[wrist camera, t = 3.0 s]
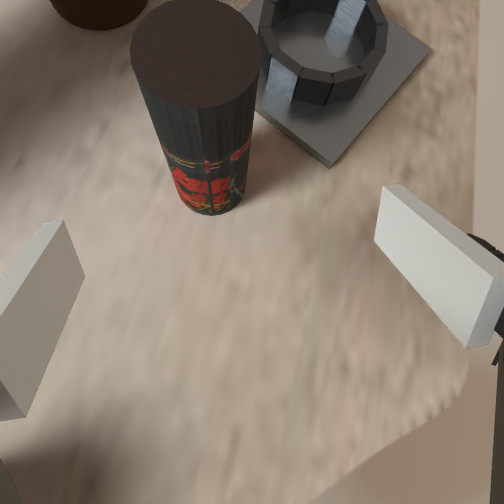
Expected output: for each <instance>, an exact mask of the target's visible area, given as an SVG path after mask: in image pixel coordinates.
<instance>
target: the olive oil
mask: <svg viewBox="0 0 504 504" xmlns="http://www.w3.org/2000/svg"><path fill="white" fill-rule="evenodd" d="M50 1H51V3H52V5H53V6H54V8H55V9H56V11H57V12H58V13H59V14H60V15H61V16H62V17H63V18H64V19H66V20H67V21H69V22H71V23H72V24H75V25H77V26H80V27H83V28H87V29H95V30H104V29H111V28H115V27H118V26H121V25H124V24H126V23H127V22H129V21H131V20H132V19H134V18H135V17H136V16H137V15H138V14H139V13H140V12H141V11H142V9H143V8H144V6H145V5H146V2H147V0H50Z"/></svg>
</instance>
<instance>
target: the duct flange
mask: <svg viewBox="0 0 504 504" xmlns="http://www.w3.org/2000/svg"><path fill="white" fill-rule="evenodd" d="M240 13H241V14H242V15H243V16H244V17H245V18H246V19H247V20H248V21H249V22H250V23H251V24H252V26H253V28H254V30H255V32H256V34H257V35H258V37H259V42H260V47H261V62H260V71H259V79H258V87H257V95H256V103H255V111H256V112H258V113H259V114H260V115H261V116H263V117H264V118H265V119H267V120H268V121H269V122H270V123H272V124H273V125H274V126H276V127H277V128H278V129H279V130H281V131H282V132H283V133H284V134H286V135H287V136H288V137H290V138H291V139H292V140H293V141H295V142H296V143H297V144H298V145H300V146H301V147H302V148H304V149H305V150H306V151H307V152H309V153H310V154H311V155H312V156H314V157H315V158H316V159H318V160H319V161H320V162H321V163H323V164H324V165H325V166H326V167H328V168H329V169H330V168H331V166H332V165H333V164H334V163H335V162H336V161H337V159H338V158H339V157H340V156H341V155H342V154H343V152H344V151H345V150H346V149H347V148H348V147H349V145H350V144H351V143H352V142H353V141H354V139H355V138H356V137H357V136H358V135H359V134H360V132H361V131H362V130H363V129H364V128H365V127H366V125H367V124H368V123H369V122H370V121H371V120H372V118H373V117H374V116H375V115H376V114H377V113H378V111H379V110H380V109H381V108H382V107H383V106H384V104H385V103H386V102H387V101H388V100H389V99H390V97H391V96H392V95H393V94H394V93H395V92H396V90H397V89H398V88H399V87H400V86H401V85H402V83H403V82H404V81H405V80H406V79H407V78H408V76H409V75H410V74H411V73H412V72H413V71H414V69H415V68H416V67H417V66H418V65H419V64H420V62H421V61H422V60H423V59H424V58H425V57H426V55H427V54H428V52H429V51H430V50H431V49H430V48H429V47H428V46H426V45H425V44H423V43H422V42H421V41H419V40H418V39H416V38H415V37H414V36H412V35H411V34H410V33H408V32H407V31H405V30H404V29H403V28H401V27H400V26H399V25H397V24H396V23H394V22H393V21H392V20H390V19H389V18H388V17H386V16H385V15H384V14H383V12H382V10H381V8H380V6H379V4H378V2H377V0H253V1H252V2H251V3H250V4H249V5H248V6H247V7H245V8H244V9H243V10H242V11H241V12H240Z"/></svg>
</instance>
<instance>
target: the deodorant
mask: <svg viewBox="0 0 504 504" xmlns="http://www.w3.org/2000/svg"><path fill="white" fill-rule="evenodd" d="M130 54H131V63H132V67H133V70H134V72H135V75H136V78H137V81H138V83H139V86H140V89H141V92H142V94H143V97H144V100H145V103H146V105H147V108H148V111H149V114H150V116H151V119H152V122H153V125H154V127H155V130H156V133H157V136H158V138H159V141H160V144H161V147H162V149H163V152H164V155H165V158H166V160H167V163H168V166H169V169H170V171H171V174H172V177H173V180H174V183H175V185H176V188H177V191H178V193H179V195H180V198H181V200H182V201H183V202H184V203H185V205H186V206H187V207H189V208H190V209H191V210H193V211H194V212H197V213H200V214H202V215H210V216H213V215H220V214H223V213H226V212H228V211H230V210H231V209H232V208H234V207H235V206H236V205H237V204H238V203H239V201H240V200H241V199H242V196H243V194H244V191H245V184H246V176H247V168H248V160H249V152H250V143H251V135H252V127H253V119H254V111H255V103H256V95H257V87H258V79H259V71H260V62H261V47H260V42H259V37H258V35H257V34H256V32H255V30H254V28H253V26H252V24H251V23H250V22H249V21H248V20H247V19H246V18H245V17H244V16H243V15H242V14H241V13H240V12H238V11H237V10H235V9H234V8H232V7H231V6H229V5H227V4H224V3H222V2H219V1H216V0H173V1H170V2H167V3H164V4H162V5H160V6H159V7H157V8H155V9H154V10H152V11H151V12H150V13H149V14H148V15H147V16H146V17H145V18H144V19H143V20H142V21H141V22H140V23H139V25H138V27H137V29H136V30H135V32H134V34H133V37H132V42H131V47H130Z"/></svg>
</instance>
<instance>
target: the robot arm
mask: <svg viewBox="0 0 504 504" xmlns="http://www.w3.org/2000/svg"><path fill="white" fill-rule="evenodd" d="M374 242H375V243H376V244H377V245H378V246H379V247H380V249H381V250H382V251H383V252H384V253H385V254H386V256H387V257H388V258H389V259H390V260H391V262H392V263H393V264H394V265H395V266H396V267H397V269H398V270H399V271H400V272H401V273H402V274H403V276H404V277H405V278H406V279H407V280H408V282H409V283H410V284H411V285H412V286H413V287H414V289H415V290H416V291H417V292H418V293H419V294H420V296H421V297H422V298H423V299H424V300H425V302H426V303H427V304H428V305H429V306H430V307H431V309H432V310H433V311H434V312H435V313H436V314H437V316H438V317H439V318H440V319H441V320H442V321H443V323H444V324H445V325H446V326H447V327H448V329H449V330H450V331H451V332H452V333H453V334H454V336H455V337H456V338H457V339H458V340H459V341H460V343H461V344H462V345H463V346H464V347H465V348H471V347H477V346H483V345H488V344H489V341H490V339H491V337H492V335H493V332H494V330H495V331H496V332H497V333H498V334H499V335H500V336H501V337H502V338H503V341H502V343H501V345H500V347H499V350H498V352H497V354H496V356H495V358H494V360H493V362H492V365H495V366H496V364H497V362H498V361H499V362H498V378H497V394H496V395H497V396H496V410H495V411H496V412H495V426H494V442H493V443H494V444H493V459H492V460H493V461H492V476H491V492H490V504H504V254H503V253H502V252H500V251H499V250H496V248H495V247H493V246H492V245H490V244H489V243H488V242H487V241H485V240H483V239H481V238H479V237H476V236H474V235H472V234H465V233H464V232H463V231H461V230H460V229H459V228H457V227H456V226H455V225H453V224H452V223H451V222H450V221H448V220H447V219H446V218H444V217H443V216H442V215H440V214H439V213H438V212H436V211H435V210H434V209H432V208H431V207H430V206H428V205H427V204H426V203H424V202H423V201H422V200H420V199H419V198H418V197H416V196H415V195H414V194H413V193H411V192H410V191H409V190H407V189H406V188H405V187H403V186H402V185H401V184H394V185H384V186H383V187H382V193H381V200H380V206H379V212H378V218H377V225H376V231H375V237H374ZM84 278H85V275H84V272H83V269H82V267H81V264H80V262H79V259H78V256H77V254H76V251H75V249H74V246H73V243H72V241H71V238H70V236H69V233H68V230H67V228H66V225H65V223H64V220H60V221H51V222H43V223H42V225H41V226H40V227H39V229H38V230H37V231H36V233H35V234H34V235H33V237H32V238H31V239H30V241H29V242H28V243H27V245H26V246H25V247H24V249H23V250H22V251H21V253H20V254H19V255H18V257H17V258H16V259H15V261H14V262H13V263H12V265H11V266H10V267H9V269H8V270H7V271H6V273H5V274H4V275H3V277H2V278H1V279H0V421H6V420H12V419H18V418H25V417H26V416H27V413H28V411H29V409H30V406H31V404H32V402H33V399H34V397H35V394H36V392H37V390H38V387H39V385H40V383H41V380H42V378H43V375H44V373H45V371H46V368H47V366H48V363H49V361H50V359H51V356H52V354H53V352H54V349H55V347H56V344H57V342H58V340H59V337H60V335H61V333H62V330H63V328H64V325H65V323H66V321H67V318H68V316H69V314H70V311H71V309H72V306H73V304H74V302H75V299H76V297H77V295H78V292H79V290H80V287H81V285H82V283H83V280H84ZM0 504H23V502H22V500H21V498H20V496H19V494H18V493H17V491H16V489H15V487H14V485H13V483H12V481H11V479H10V477H9V475H8V473H7V471H6V469H5V467H4V465H3V463H2V461H1V459H0Z"/></svg>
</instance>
